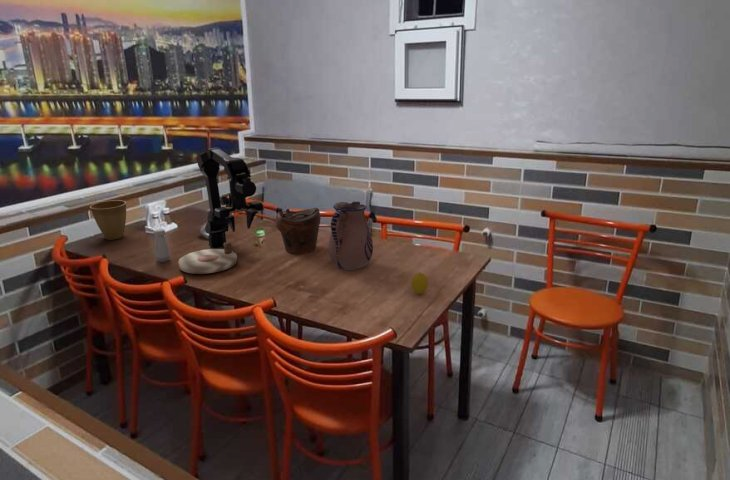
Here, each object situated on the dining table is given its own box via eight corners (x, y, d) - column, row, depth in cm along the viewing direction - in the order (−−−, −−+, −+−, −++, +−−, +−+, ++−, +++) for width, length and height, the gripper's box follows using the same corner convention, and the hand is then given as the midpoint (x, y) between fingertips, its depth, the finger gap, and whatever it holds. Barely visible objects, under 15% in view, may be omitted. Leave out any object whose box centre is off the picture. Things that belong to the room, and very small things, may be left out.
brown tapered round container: (268, 250, 215) (265, 209, 209) (303, 239, 228) (302, 201, 223) (294, 260, 203) (293, 218, 197) (330, 248, 217) (330, 208, 211)
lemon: (410, 291, 174) (410, 270, 171) (425, 290, 174) (426, 269, 172) (412, 298, 169) (413, 276, 166) (428, 297, 169) (429, 275, 166)
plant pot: (109, 231, 241) (103, 199, 236) (137, 233, 239) (132, 200, 234) (88, 241, 227) (82, 207, 222) (119, 243, 225) (113, 208, 220)
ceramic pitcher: (378, 261, 202) (378, 200, 194) (361, 281, 183) (360, 215, 175) (338, 256, 207) (337, 197, 199) (317, 275, 188) (314, 211, 180)
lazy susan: (219, 249, 213) (217, 236, 211) (247, 262, 198) (246, 248, 196) (169, 263, 198) (167, 249, 196) (196, 278, 183) (194, 263, 181)
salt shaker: (165, 263, 201) (161, 232, 197) (152, 262, 202) (148, 231, 198) (173, 258, 207) (169, 228, 202) (161, 257, 208) (156, 227, 203)
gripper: (249, 184, 206) (252, 221, 211) (206, 191, 194) (210, 230, 199) (263, 189, 197) (265, 227, 203) (218, 197, 186) (222, 236, 191)
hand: (241, 230), depth 199 cm, fingers open, 6 cm apart
